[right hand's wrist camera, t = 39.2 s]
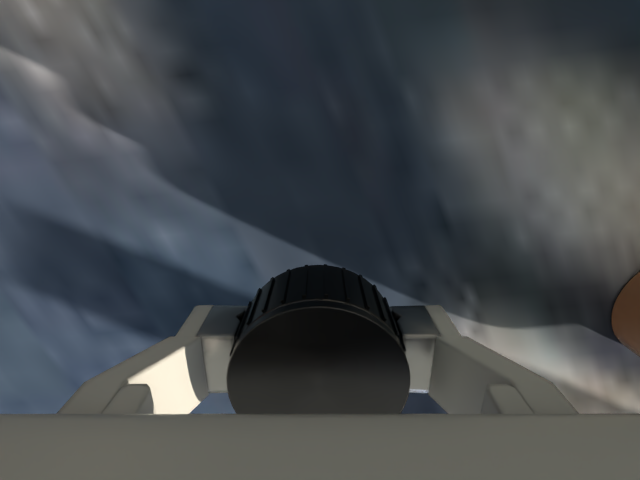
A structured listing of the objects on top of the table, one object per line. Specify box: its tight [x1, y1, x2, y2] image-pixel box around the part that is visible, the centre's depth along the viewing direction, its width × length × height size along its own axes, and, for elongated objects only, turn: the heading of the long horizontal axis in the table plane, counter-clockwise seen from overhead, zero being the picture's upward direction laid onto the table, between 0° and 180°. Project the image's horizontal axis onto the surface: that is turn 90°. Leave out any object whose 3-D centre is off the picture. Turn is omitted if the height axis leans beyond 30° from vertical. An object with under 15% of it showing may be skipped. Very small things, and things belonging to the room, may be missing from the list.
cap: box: [226, 264, 410, 414], centre depth 9 cm, size 4×4×2 cm
